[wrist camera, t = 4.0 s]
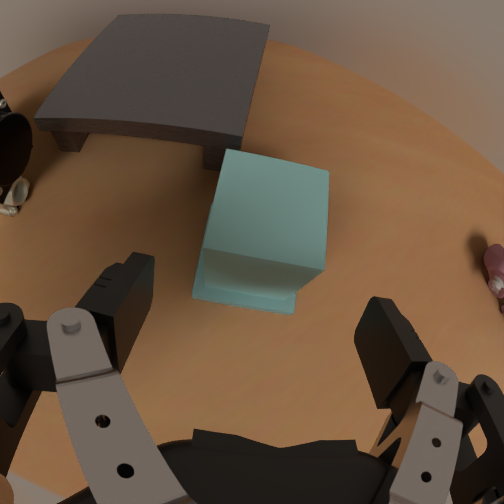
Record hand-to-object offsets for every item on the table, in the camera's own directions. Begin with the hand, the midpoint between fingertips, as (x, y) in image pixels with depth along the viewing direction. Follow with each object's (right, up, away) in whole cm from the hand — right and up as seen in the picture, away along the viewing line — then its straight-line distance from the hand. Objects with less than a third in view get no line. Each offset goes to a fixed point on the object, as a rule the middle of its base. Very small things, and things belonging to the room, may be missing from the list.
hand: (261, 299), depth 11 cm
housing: (-1, +1, +10) cm, 10 cm away
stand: (-8, +16, +14) cm, 23 cm away
